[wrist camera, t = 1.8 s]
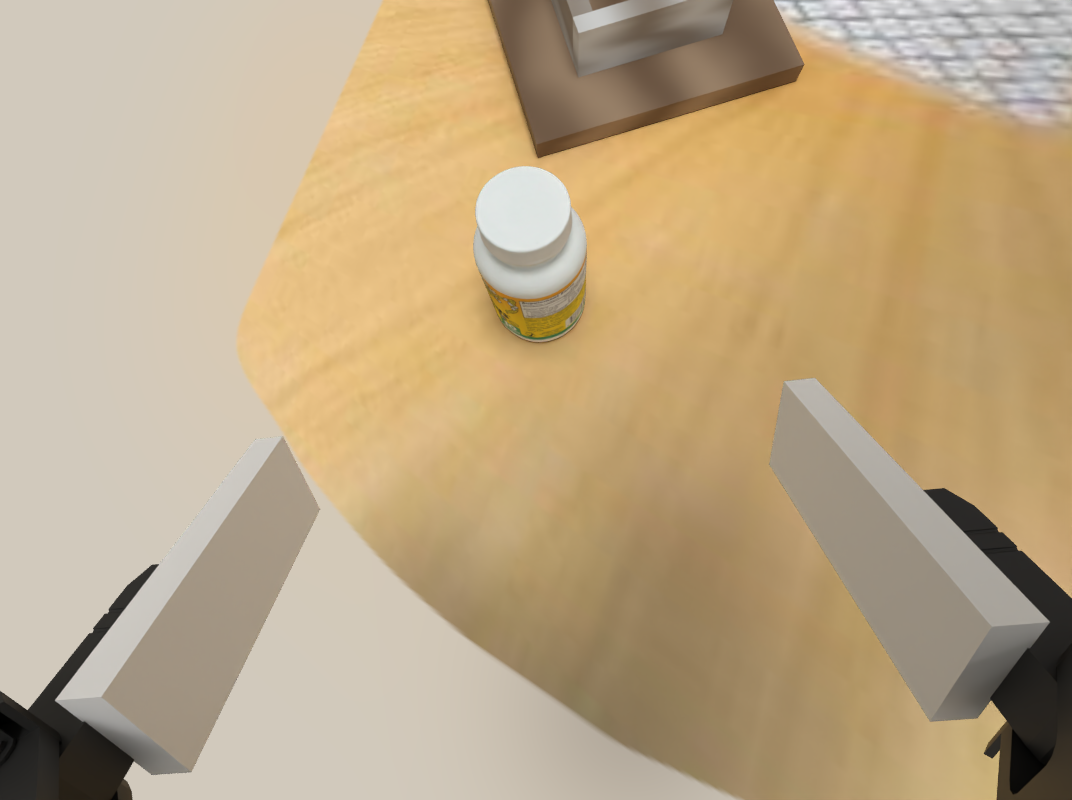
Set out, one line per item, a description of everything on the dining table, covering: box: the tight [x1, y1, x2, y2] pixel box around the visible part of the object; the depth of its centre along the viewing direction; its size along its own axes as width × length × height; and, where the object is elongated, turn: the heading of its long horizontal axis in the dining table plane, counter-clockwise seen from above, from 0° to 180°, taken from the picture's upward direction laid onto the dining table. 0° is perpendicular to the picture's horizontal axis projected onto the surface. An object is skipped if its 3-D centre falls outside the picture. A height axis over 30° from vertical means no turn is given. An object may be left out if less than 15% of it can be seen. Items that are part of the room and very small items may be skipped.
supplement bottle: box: [473, 166, 587, 342], centre depth 25 cm, size 5×5×10 cm
